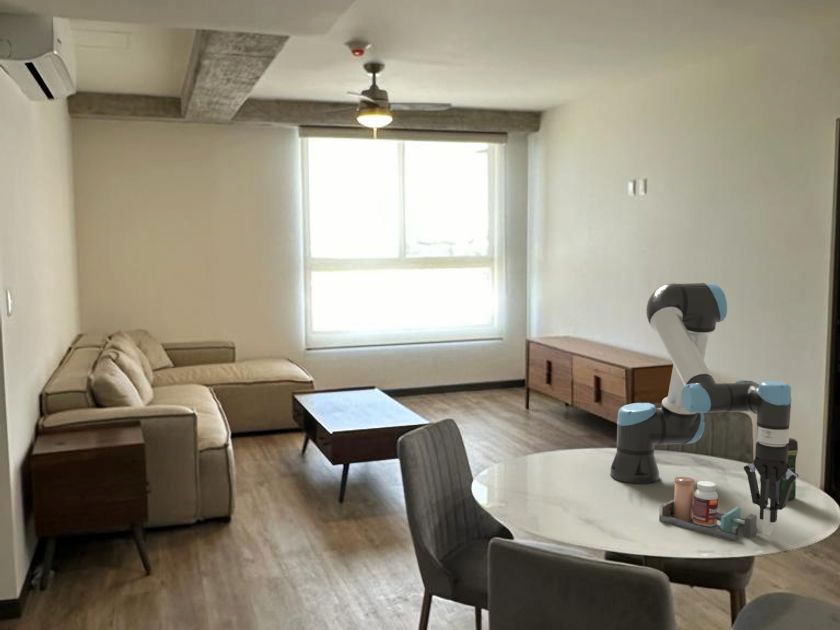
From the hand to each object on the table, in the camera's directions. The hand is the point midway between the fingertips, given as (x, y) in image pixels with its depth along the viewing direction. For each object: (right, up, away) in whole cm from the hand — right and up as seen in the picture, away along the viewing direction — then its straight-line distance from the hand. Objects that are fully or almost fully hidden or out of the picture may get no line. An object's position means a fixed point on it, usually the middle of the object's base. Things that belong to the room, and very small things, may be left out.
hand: (767, 533), depth 199 cm
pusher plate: (-5, -1, +5) cm, 7 cm away
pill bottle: (-12, -1, +12) cm, 17 cm away
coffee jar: (+18, +1, +34) cm, 38 cm away
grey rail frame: (-11, -1, +11) cm, 16 cm away
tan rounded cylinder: (-16, 0, +16) cm, 23 cm away
